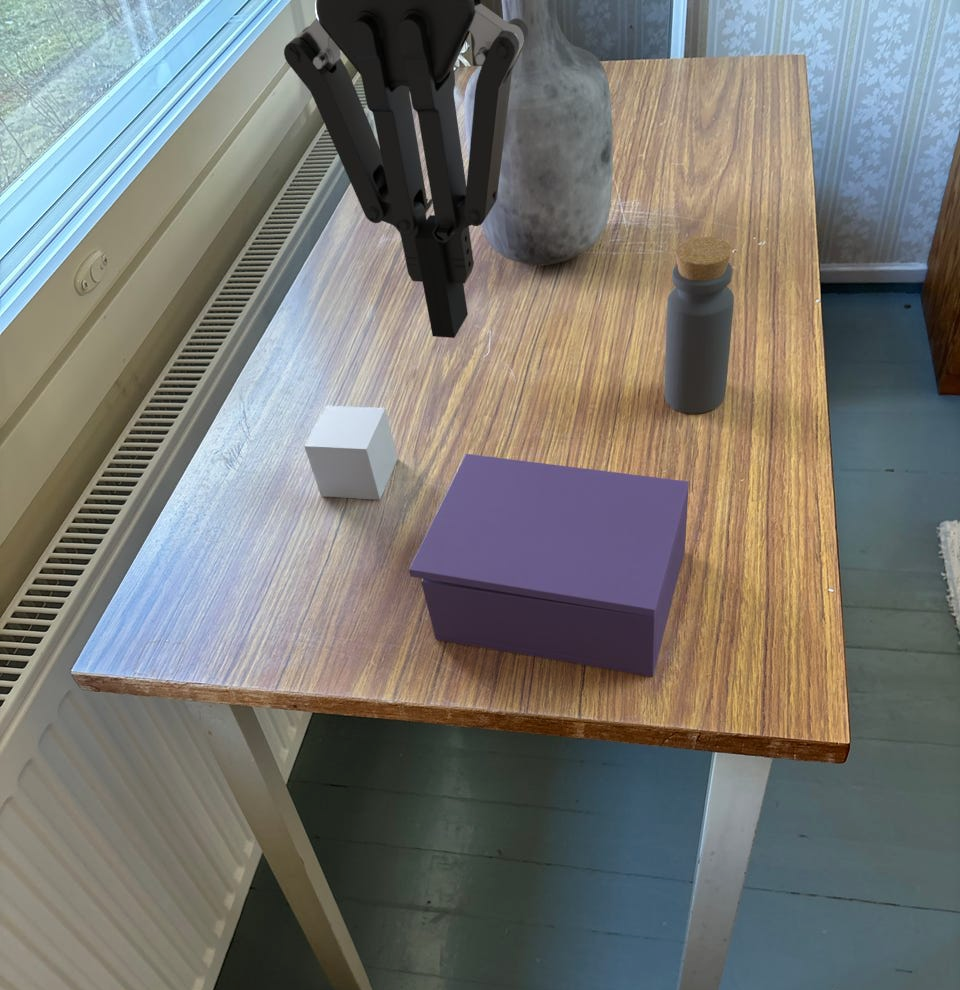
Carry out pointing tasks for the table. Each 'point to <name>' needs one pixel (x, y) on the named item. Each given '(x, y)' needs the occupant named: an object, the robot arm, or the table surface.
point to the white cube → (352, 452)
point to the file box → (555, 622)
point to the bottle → (699, 326)
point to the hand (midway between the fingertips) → (450, 325)
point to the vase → (550, 145)
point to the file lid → (555, 533)
